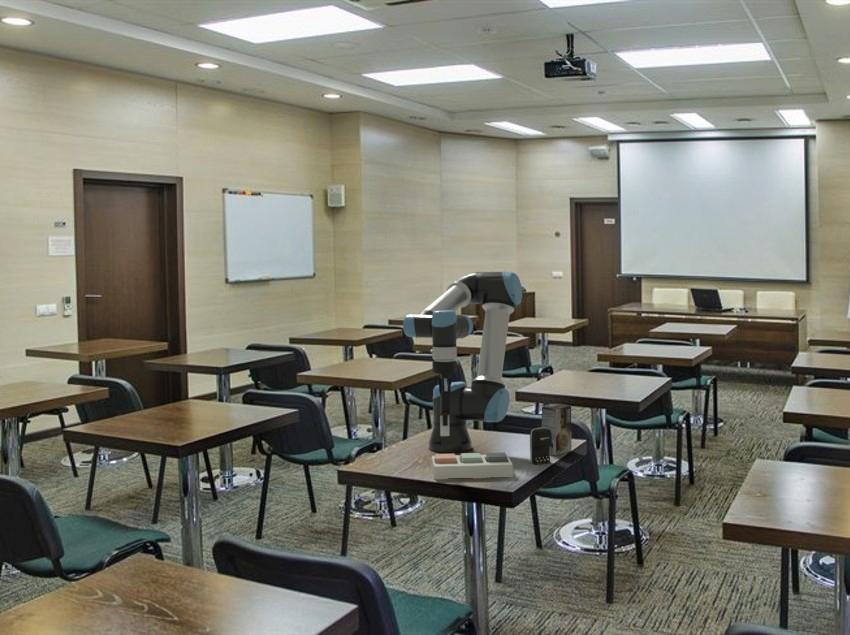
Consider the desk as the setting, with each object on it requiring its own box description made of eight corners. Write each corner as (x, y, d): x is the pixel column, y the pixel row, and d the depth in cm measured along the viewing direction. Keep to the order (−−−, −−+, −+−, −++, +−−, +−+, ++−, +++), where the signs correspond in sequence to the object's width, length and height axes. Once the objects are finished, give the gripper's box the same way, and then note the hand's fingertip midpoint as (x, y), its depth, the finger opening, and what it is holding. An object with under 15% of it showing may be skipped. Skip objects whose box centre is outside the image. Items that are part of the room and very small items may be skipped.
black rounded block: (536, 465, 274) (536, 430, 273) (529, 463, 277) (529, 428, 276) (553, 462, 277) (553, 428, 277) (546, 460, 281) (546, 426, 280)
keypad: (431, 468, 273) (431, 454, 272) (506, 466, 274) (506, 453, 273) (434, 479, 259) (434, 465, 258) (512, 477, 260) (512, 463, 260)
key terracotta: (435, 463, 269) (435, 454, 268) (454, 462, 269) (454, 453, 269) (436, 468, 263) (436, 458, 262) (456, 467, 263) (456, 458, 263)
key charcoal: (486, 462, 269) (486, 452, 269) (504, 461, 270) (504, 452, 269) (488, 466, 263) (488, 457, 263) (507, 466, 264) (507, 456, 263)
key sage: (460, 462, 269) (460, 453, 269) (479, 462, 269) (479, 452, 269) (462, 467, 263) (462, 457, 263) (481, 466, 263) (481, 457, 263)
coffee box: (557, 448, 298) (556, 402, 297) (572, 451, 294) (572, 404, 292) (540, 452, 292) (540, 406, 291) (556, 455, 287) (556, 408, 286)
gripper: (431, 358, 270) (431, 431, 271) (433, 362, 257) (434, 440, 258) (454, 357, 270) (455, 431, 271) (458, 362, 257) (458, 439, 258)
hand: (444, 435), depth 265 cm, fingers closed
